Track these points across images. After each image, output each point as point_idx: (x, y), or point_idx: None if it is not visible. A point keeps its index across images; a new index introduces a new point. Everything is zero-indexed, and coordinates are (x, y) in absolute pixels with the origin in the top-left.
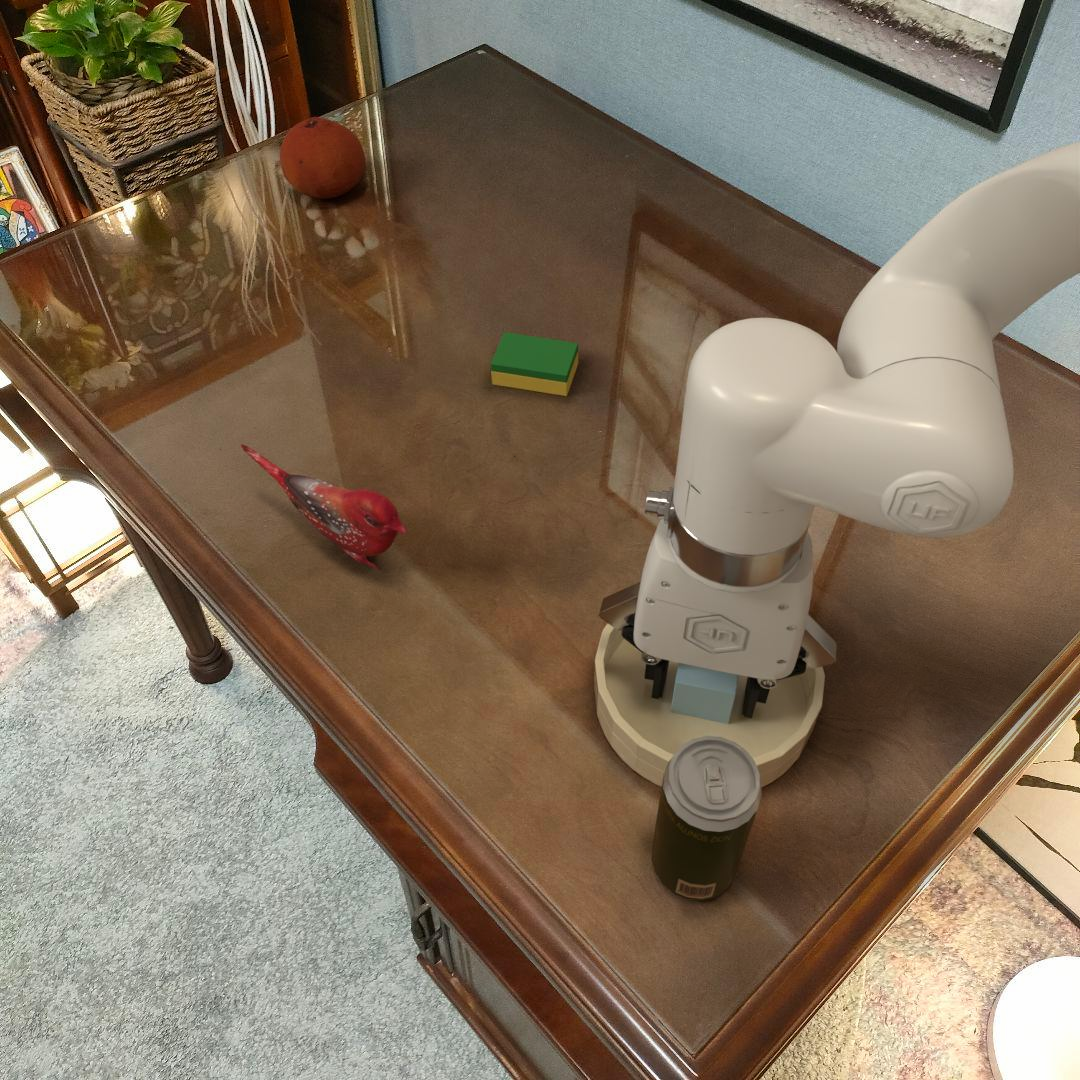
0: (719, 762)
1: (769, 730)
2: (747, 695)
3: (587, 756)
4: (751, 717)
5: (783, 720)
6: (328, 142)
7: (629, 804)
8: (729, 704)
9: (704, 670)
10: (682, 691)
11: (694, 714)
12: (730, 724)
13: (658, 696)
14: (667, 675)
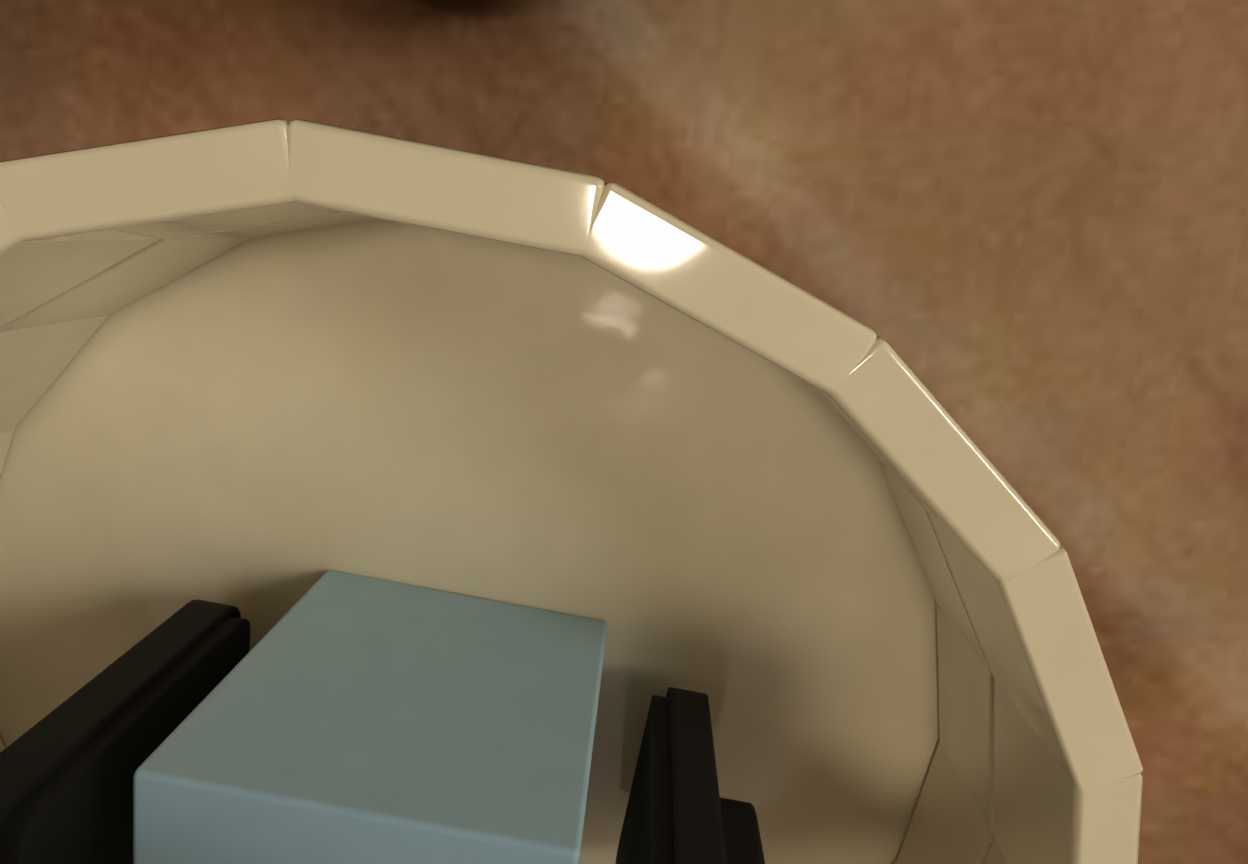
0: None
1: (131, 544)
2: (94, 752)
3: (1031, 376)
4: (190, 605)
5: (71, 596)
6: None
7: (829, 107)
8: (240, 682)
9: None
10: (533, 763)
11: (488, 612)
12: (316, 567)
13: (673, 704)
14: (621, 794)
